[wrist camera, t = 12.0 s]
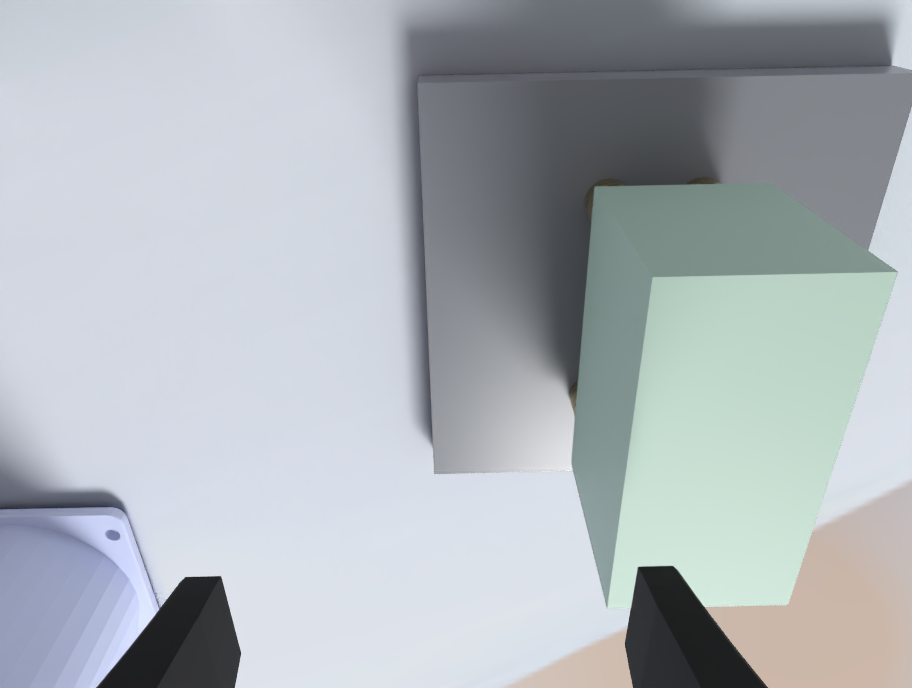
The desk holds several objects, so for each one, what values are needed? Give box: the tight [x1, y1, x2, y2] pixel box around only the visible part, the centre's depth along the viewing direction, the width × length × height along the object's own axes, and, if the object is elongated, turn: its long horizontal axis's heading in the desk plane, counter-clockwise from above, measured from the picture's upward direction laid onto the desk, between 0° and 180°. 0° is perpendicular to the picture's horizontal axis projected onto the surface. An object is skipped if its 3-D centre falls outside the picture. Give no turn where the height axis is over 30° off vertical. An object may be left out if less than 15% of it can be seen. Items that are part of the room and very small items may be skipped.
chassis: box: [417, 66, 912, 474], centre depth 19 cm, size 12×12×3 cm
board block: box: [571, 183, 898, 609], centre depth 15 cm, size 8×4×5 cm, turn 1°
